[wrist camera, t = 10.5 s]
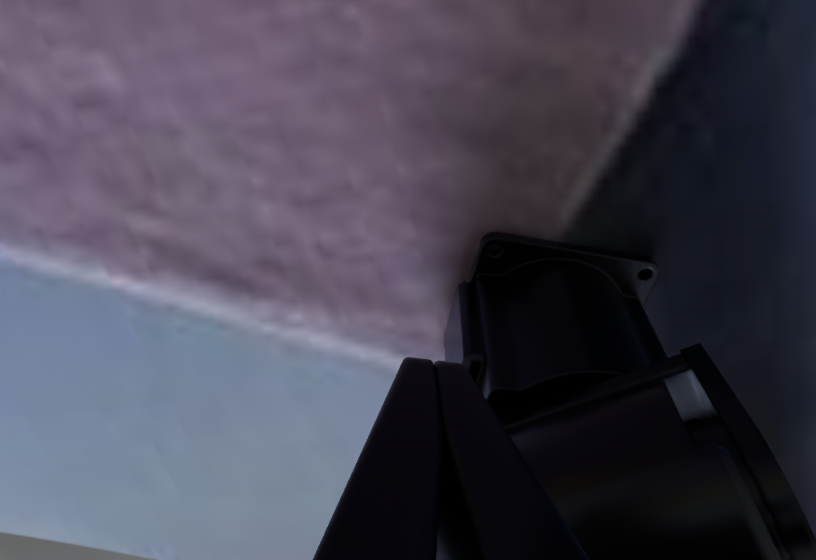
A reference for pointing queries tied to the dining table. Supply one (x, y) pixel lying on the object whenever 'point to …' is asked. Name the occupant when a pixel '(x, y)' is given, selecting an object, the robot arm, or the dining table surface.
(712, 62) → the dining table surface
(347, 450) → the dining table surface
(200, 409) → the dining table surface
